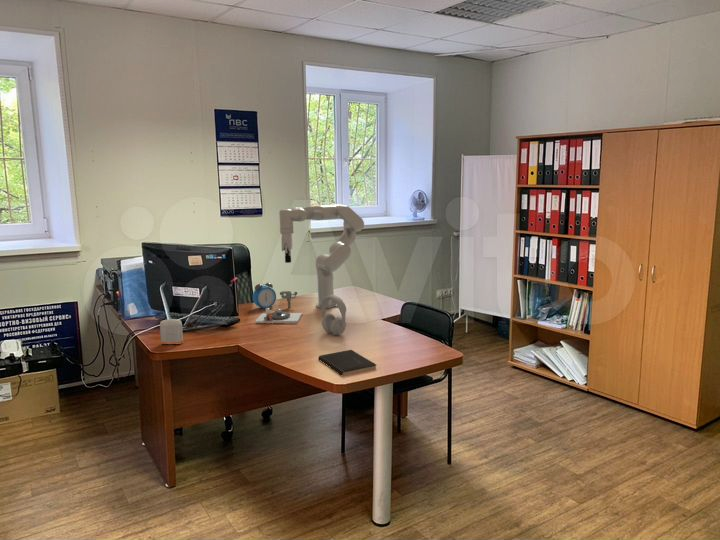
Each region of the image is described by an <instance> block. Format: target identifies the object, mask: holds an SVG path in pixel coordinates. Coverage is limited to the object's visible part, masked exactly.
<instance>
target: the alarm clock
mask: <svg viewBox="0 0 720 540" xmlns="http://www.w3.org/2000/svg"><path fill="white" fill-rule="evenodd" d="M273 287H274V286H273V284H272V283H271V282H266V283H265V284H261V283H258V284H256V285H255V286H254V291H253V293H252V301H253V303H254V305H256V306H257V307H259V308H260V310H262V309H266V308H271V307H272V306H273V305H274V304H275V303H276V300H277V294H276V291H275V290H274V288H273Z"/></svg>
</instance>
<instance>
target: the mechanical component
mask: <svg viewBox="0 0 720 540" xmlns="http://www.w3.org/2000/svg"><path fill="white" fill-rule="evenodd" d="M279 295H280V296H281V298H282V299H286V301H287V309H291V301H292V299H295V298H296V297H297V295H298V291H294V292H293V293H292V291H290V290H289V291H288V290H287V291H286V290H285V291H283V290H282V291H280V292H279Z"/></svg>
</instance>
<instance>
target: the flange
mask: <svg viewBox="0 0 720 540" xmlns="http://www.w3.org/2000/svg"><path fill="white" fill-rule="evenodd" d="M270 308H271V307H270ZM270 308H265V313H266V317H264V320H269V315H272V318H273V319H285V318H288V317H290V313H291V312H288V311H283V309H282V308H276V309H275V312H271V309H270Z"/></svg>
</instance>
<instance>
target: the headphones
mask: <svg viewBox="0 0 720 540" xmlns="http://www.w3.org/2000/svg"><path fill="white" fill-rule="evenodd" d="M330 299H332V300H333V301H334V302H335V303H336V304H337V305H336V307H337V308H338V310H339V312H340V315H341V316H335V315H334V314H332V313H328V314H326V313H325V312H326V308H325V307H326V305H327V303H328V301H329V300H330ZM320 312H321V316H322V319H321V325H322V329H323V330H324V332H326V333H327V334H333V335H334V336H340V335H341V334H344V332H345V330H346V327H347V326H346V325H347V322H346V315H347V313H346V312H347V306H346V303H345V302H344V300H343V299H342V298H341V297H339V296H338V295H335V294H334V295H329V296H326V297H325V298H324V299H323V300H322V301H321V308H320Z"/></svg>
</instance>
